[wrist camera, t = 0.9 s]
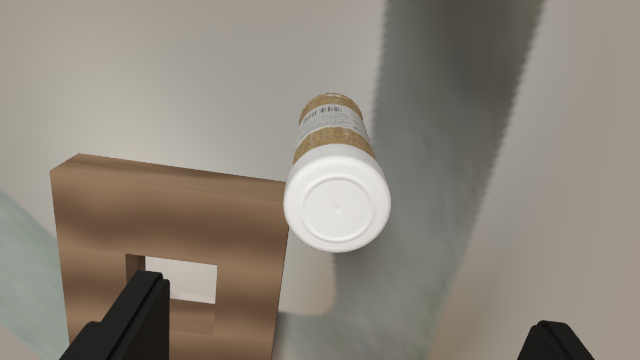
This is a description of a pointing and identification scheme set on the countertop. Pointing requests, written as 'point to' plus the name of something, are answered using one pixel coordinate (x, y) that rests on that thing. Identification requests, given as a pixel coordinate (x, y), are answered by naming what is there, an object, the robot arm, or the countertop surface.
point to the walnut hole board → (173, 248)
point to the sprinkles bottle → (335, 179)
